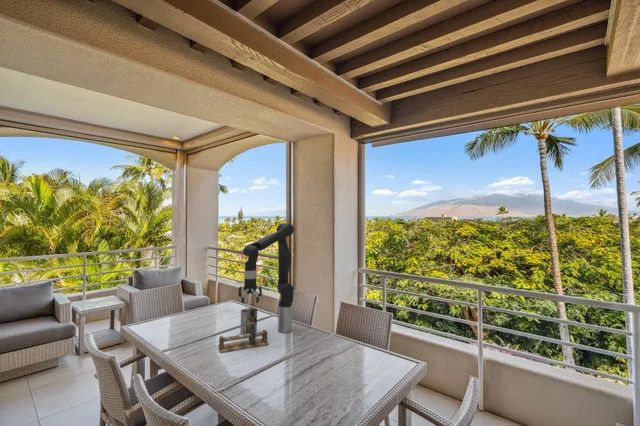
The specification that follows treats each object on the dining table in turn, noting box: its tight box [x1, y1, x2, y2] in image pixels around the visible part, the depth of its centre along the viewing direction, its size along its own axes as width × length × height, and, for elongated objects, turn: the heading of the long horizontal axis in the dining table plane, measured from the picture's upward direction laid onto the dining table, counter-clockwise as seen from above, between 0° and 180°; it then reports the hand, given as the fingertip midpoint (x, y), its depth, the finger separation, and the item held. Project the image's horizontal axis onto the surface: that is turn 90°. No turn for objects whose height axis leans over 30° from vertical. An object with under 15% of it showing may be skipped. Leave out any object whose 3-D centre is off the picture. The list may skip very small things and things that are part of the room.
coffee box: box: [239, 306, 258, 335], centre depth 192 cm, size 9×6×16 cm
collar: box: [248, 324, 257, 344], centre depth 174 cm, size 2×7×10 cm, turn 26°
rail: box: [217, 329, 269, 354], centre depth 172 cm, size 28×10×7 cm, turn 116°
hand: (250, 303), depth 178 cm, fingers open, 8 cm apart
